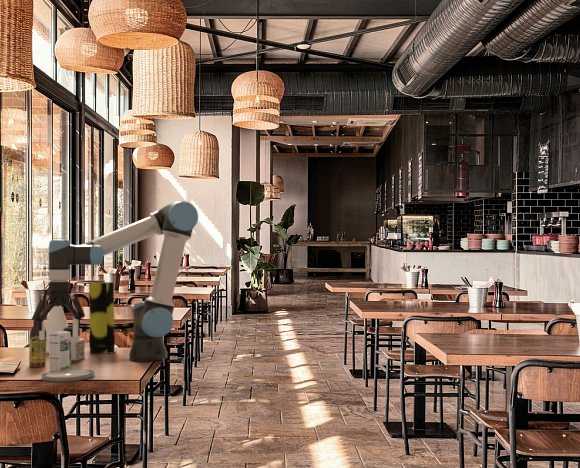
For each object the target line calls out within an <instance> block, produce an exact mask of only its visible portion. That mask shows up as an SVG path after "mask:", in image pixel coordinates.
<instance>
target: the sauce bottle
mask: <svg viewBox="0 0 580 468" xmlns="http://www.w3.org/2000/svg"><path fill="white" fill-rule="evenodd" d="M42 322H45V320H43V321H42ZM32 325H33V326H32V328H31V330H30V332H29V346H28V347H29V348H28V349H29V350H28V362H29V367H31V368H40V367H41V368H42V367H45V366H46V363H47V361H46V360H47V353H46V330H45V340H40V339H39V331H38V330H37V321H34V320H33V323H32Z"/></svg>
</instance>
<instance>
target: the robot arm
mask: <svg viewBox="0 0 580 468" xmlns="http://www.w3.org/2000/svg"><path fill="white" fill-rule="evenodd" d="M198 221H199V213H198V210H197V208H196V206H194V204H192V203H191V202H189V201H185V200H177V201H174V202H170V203H168V204H166V205H164V206H163V207H161V208H160V209H158V210H155V211H154V212H151V213H149V216H148V217H145V218H143V219H141V220H138V221H136V222H133V223H131V224H128V225H126V226H123V227H121V228H118V229H116V230H114V231H111V232H108V233H107V234H104V235H101V236H99V237H96V238H94V239H92V240H90V241H87V242H85V243H82V244H76V245H75V244H71V241H70V239H52V240H50V241H49V245H48V281H49V282H48V294H47V295H46V294H40V296H39V297H40V298H39V302H38V304H37V306H36V307H35V311H34V313H33V315H32V317H31V320H32V321H33V322H34V321H37V330H38V331H39V339H40V340H45V324H46V321H45V320H44V319H46V317H48V315H49V312H50V310H51V309H52V308H53V307H54V306H62V307H65V308H66V309H67V310H68V311H69V313H70V314H71V315H72V316H73V319H72V327H73V336H74V337H78V328H81V320H82V318H85V317H86V314H85V311H84V310H83V308H82V305H81V303H80V301H79V299H78V293H75V292H71V293H70V290H71V286H70V285H71V284H70V283H71V282H70V281H69V280H70V279H71V277H70V276H71V275H70V274H71V270H70V267H71V266H75V265H77V266H88V265H89V266H97V265H98V266H99V265H101V264H103V260H104V258H103V257H104V256H107V255H108V254H111V253H114V252H116V251H119V250H121V249H124V248H126V247H128V246H131V245H134V244H136V243H138V242H140V241H143V240H145V239H148V238H150V237H153V236H155V235H158V236H161V235H163V237H164V238H163V240H162V241H163V242H162V246H161V249H160V254H159V258H158V263H157V266H156V270H155V275H154V278H153V283H152V287H151V292H150V295H149V296H148V297H146V298H145V299H144V301H142V302H136V303H134V304H133V307H132V308H133V309H132V314H133V315H132V316H133V319H132V320H133V341H132V345H131V348H130V351H129V355H128V356H129V360H130V361H133V362H154V361H162V360H167V359H168V351H167V348H166V345H165V342H164V339H163V337H164V336H166V335H168V333H170V332H171V330H172V328H173V326H174V317H173V313H174V309H175V304H174V302H173V296H174V292H175V288H176V284H177V280H178V276H179V271H180V267H181V264H182V259H183V254H184V251H185V245H186V242H187V241H189V240H190V239H192V233H193V229H194V228H195V226H196V225H197V224H198ZM70 299H71V301H72V303H71V302H70V301H69V300H70ZM47 301H48V303H47V304H46V302H47ZM72 304H73V305H74V306H72ZM45 305H46V306H45ZM44 307H45V308H44ZM43 320H44V322H42V321H43Z"/></svg>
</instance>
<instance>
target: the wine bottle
mask: <svg viewBox="0 0 580 468" xmlns="http://www.w3.org/2000/svg"><path fill="white" fill-rule="evenodd" d="M68 324H69V323H68V320H67V318H66V315H65V312H64V309H63V306H54V307H53V308H52V309H51V310H50V312H49V313H48V314H47V318H46V320H45V330H46V354H49V333H53V332H59V331H63V329H64V328H66V327H69V325H68Z"/></svg>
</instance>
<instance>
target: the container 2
mask: <svg viewBox="0 0 580 468" xmlns="http://www.w3.org/2000/svg"><path fill="white" fill-rule="evenodd" d="M88 285H89V287H88V290H89V291H88V295H89V297H88V298H89V303H88V304H89V340H88V342H89V344H88V345H89V346H88V347H89V353H91V354H95V355H97V354H98V353H104V354H111V352H112V353H114V352H115V345H116V342H115V341H116V339H115V338H116V336H115V296H114V293H115V292H114V290H115V289H114V287H115V286H114V285H115V284H114V282H109V281H108V282H106V281H105V282H89V284H88ZM98 355H99V354H98Z"/></svg>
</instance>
